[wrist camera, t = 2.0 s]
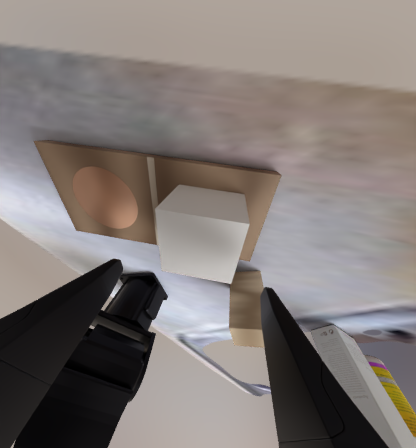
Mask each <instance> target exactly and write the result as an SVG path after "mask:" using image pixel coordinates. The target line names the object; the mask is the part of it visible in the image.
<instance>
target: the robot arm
mask: <svg viewBox="0 0 416 448" xmlns="http://www.w3.org/2000/svg"><path fill="white" fill-rule="evenodd" d="M122 272H123V266H122V263H121V260H119V259H112V260H110V261H108V262H106V263H104V264H102V265H100V266H99V267H97V268H95V269H93V270H91V271H89V272H88V273H86V274H84V275H82V276H80V277H78V278H77V279H75V280H73V281H71V282H69V283H67V284H65V285H64V286H62V287H60V288H58V289H56V290H54V291H52V292H51V293H49V294H47V295H45V296H43V297H41V298H40V299H38V300H36V301H34V302H32V303H30V304H28V305H26V306H25V307H23V308H21V309H19V310H17V311H15V312H13V313H11V314H9V315H7V316H5V317H3V318H1V319H0V448H10V447H11V446H12V444H13V443H14V441H15V440H16V441H15V444H14V447H13V448H107V447H108V446H109V443H110V441H111V439H112V436H113V434H114V431H115V428H116V426H117V424H118V422H119V420H120V417H121V415H122V413H123V411H124V409H125V407H126V405H127V403H128V402H130V401H131V400H132V399H133V398H134V396H135V395H136V393H137V391H138V389H139V387H140V385H141V383H142V380H143V378H144V375H145V372H146V368H147V365H148V361H149V357H150V354H151V350H152V346H153V343H154V339H155V335H156V333H153V332H152V333H151V332H149V331H148V329H149V327H150V325H151V322H152V320H154V319H155V318H156V316H157V314H158V311H159V309H160V306H161V304H162V301H163V300H167V298H168V296H167V294H166V293H165V291H164V289H163V288H162V286H161V284H160V283H159V281H158V279H157V278H156V276H155V275H154V274H152V273H145V274H122ZM121 274H122V275H121ZM118 279H120V280H121V281H122V283H123V285H122V286H121V288H120V289H119V291H118V292H117V293H116V295H115V296H114V298H113V299H112V301H111V302H110V303H109V305H108V306H107V307H106V309H105V310H104V311H103V310H101V308H102V307H103V305H104V304H105V302H106V301H107V299H108V298H109V296H110V294H111V293H112V291H113V289H114V287H115V285H116V283H117V281H118ZM260 305H261V326H262V334H263V340H264V347H265V354H266V361H267V367H268V374H269V381H270V388H271V395H272V402H273V408H274V415H275V422H276V429H277V436H278V442H279V448H389V447H388V446H387V444H386V443H385V442H384V440H383V439H382V438H381V437H380V435H379V434H378V433H377V432H376V430H375V429H374V428H373V427H372V425H371V424H370V423H369V421H368V420H367V419H366V418H365V416H364V415H363V414H362V413H361V411H360V410H359V409H358V407H357V406H356V405H355V404H354V402H353V401H352V400H351V398H350V397H349V396H348V394H347V393H346V392H345V391H344V389H343V388H342V387H341V385H340V384H339V382H338V381H337V380H336V378H335V377H334V375H333V374H332V373H331V371H330V370H329V368H328V367H327V366H326V364H325V363H324V361H322V359H321V357H320V356H319V354H318V353H317V351H316V350H315V349H314V347H313V346H312V344H311V343H310V341H309V340H308V339H307V337H306V336H305V334H304V333H303V331H302V330H301V329H300V327H299V326H298V324H297V323H296V321H295V320H294V319H293V317H292V316H291V314H290V313H289V311H288V310H287V309H286V307H285V306H284V304H283V303H282V301H281V300H280V299H279V297H278V296H277V294H276V293H275V291H274V290H273V289H272V288H268V287H265V288H264V289H263V291H262V293H261V296H260ZM90 325H92V326H94V327H95V328H94V329H91V328H89V327H90Z"/></svg>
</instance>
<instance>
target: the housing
mask: <svg viewBox="0 0 416 448" xmlns="http://www.w3.org/2000/svg"><path fill="white" fill-rule="evenodd" d="M155 213H156V222H157V232H158V241H159V250H160V260H161V269H162V271H165V272H170V273H175V274H181V275H186V276H191V277H196V278H202V279H207V280H212V281H217V282H223V283H228V284H231V283H232V280H233V277H234V274H235V270H236V267H237V264H238V261H239V257H240V254H241V251H242V248H243V244H244V241H245V238H246V234H247V231H248V228H249V225H250V223H249V218H248V212H247V206H246V200H245V194H239V193H232V192H226V191H219V190H212V189H206V188H199V187H192V186H185V185H178V186H177V187H176V188H175V189H174V190H173V191H172V192H171V193H170V194H169V195H168V196H167V197H166V198H165V199H164V200H163V201H162V202H161V203H160V204H159V205H158V206H157V207H156V208H155Z"/></svg>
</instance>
